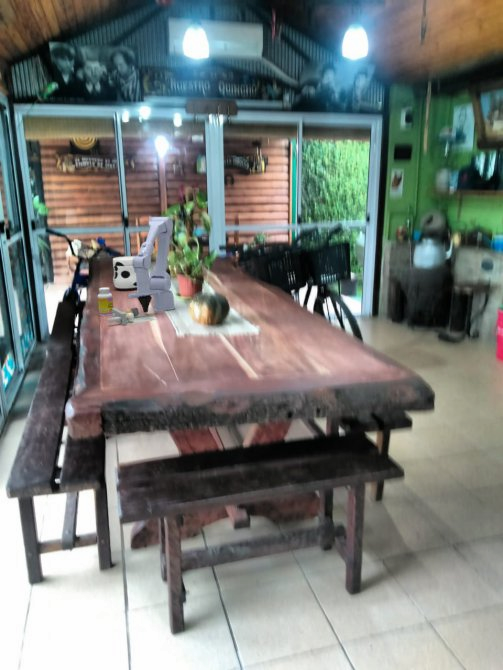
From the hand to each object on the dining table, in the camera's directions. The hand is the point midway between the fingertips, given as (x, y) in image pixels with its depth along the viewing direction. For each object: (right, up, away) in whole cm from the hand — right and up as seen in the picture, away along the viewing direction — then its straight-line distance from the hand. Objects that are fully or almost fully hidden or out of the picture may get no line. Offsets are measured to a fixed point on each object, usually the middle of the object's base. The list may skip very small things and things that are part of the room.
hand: (145, 311), depth 240 cm
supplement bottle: (-19, -2, +5) cm, 20 cm away
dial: (-6, -4, -8) cm, 10 cm away
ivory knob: (-8, -5, -13) cm, 16 cm away
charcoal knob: (-8, -3, -5) cm, 10 cm away
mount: (-4, -4, -6) cm, 8 cm away
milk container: (-23, +16, +67) cm, 73 cm away
